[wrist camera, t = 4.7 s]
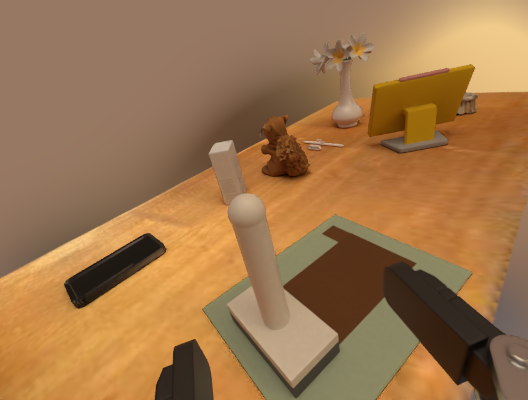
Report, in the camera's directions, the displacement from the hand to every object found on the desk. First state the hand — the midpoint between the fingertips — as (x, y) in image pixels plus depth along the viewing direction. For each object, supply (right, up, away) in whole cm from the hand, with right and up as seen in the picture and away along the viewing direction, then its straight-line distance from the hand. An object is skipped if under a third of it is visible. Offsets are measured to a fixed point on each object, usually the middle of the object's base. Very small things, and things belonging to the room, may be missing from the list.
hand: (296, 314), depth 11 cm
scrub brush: (+1, -10, +18) cm, 21 cm away
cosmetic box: (-8, +5, +49) cm, 50 cm away
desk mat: (+7, -7, +22) cm, 24 cm away
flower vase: (+25, +29, +76) cm, 85 cm away
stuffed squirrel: (+5, +11, +55) cm, 56 cm away
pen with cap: (+14, +19, +64) cm, 69 cm away
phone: (-26, -7, +35) cm, 44 cm away
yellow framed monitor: (+35, +18, +54) cm, 67 cm away
